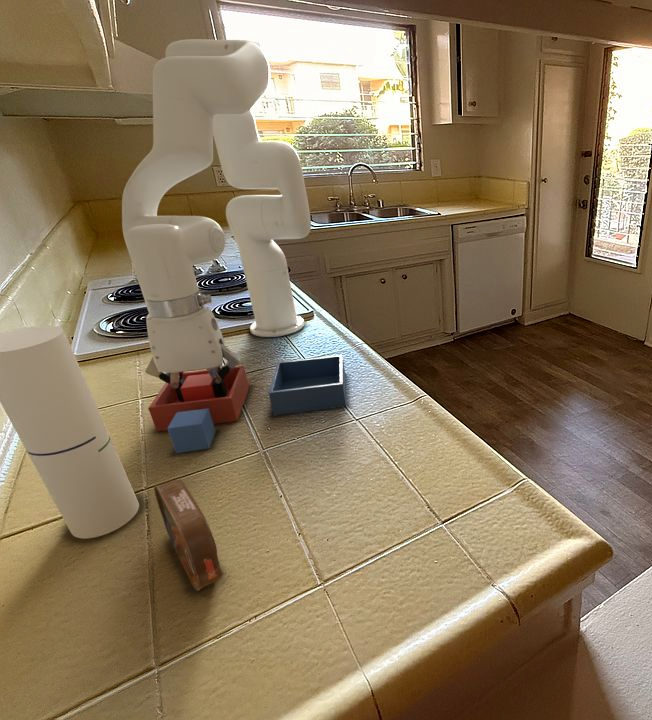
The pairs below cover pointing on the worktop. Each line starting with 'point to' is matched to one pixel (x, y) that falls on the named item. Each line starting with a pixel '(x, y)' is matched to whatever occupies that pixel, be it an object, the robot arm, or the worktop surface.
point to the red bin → (218, 407)
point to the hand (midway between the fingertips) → (205, 400)
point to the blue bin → (308, 385)
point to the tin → (189, 533)
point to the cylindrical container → (63, 430)
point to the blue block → (191, 430)
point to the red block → (198, 388)
